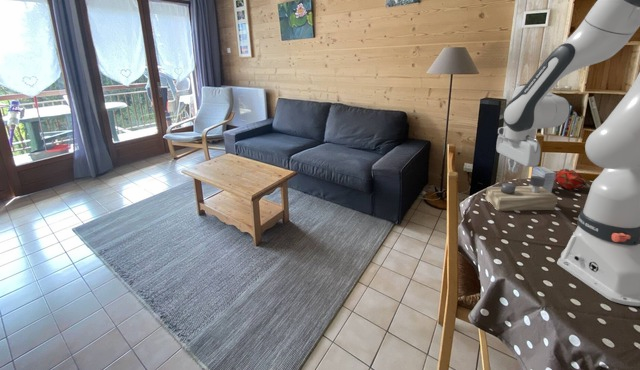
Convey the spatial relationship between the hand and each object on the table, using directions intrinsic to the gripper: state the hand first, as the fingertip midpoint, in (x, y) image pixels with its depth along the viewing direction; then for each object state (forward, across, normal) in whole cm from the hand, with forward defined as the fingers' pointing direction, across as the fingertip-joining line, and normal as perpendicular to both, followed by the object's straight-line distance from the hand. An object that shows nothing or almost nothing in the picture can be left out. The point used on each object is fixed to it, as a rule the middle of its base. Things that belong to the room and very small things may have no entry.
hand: (512, 171), depth 114 cm
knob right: (+10, +1, -10) cm, 14 cm away
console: (+13, +1, -5) cm, 14 cm away
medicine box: (+13, +14, -21) cm, 28 cm away
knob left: (+13, +1, 0) cm, 13 cm away
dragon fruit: (+13, +15, -33) cm, 38 cm away
